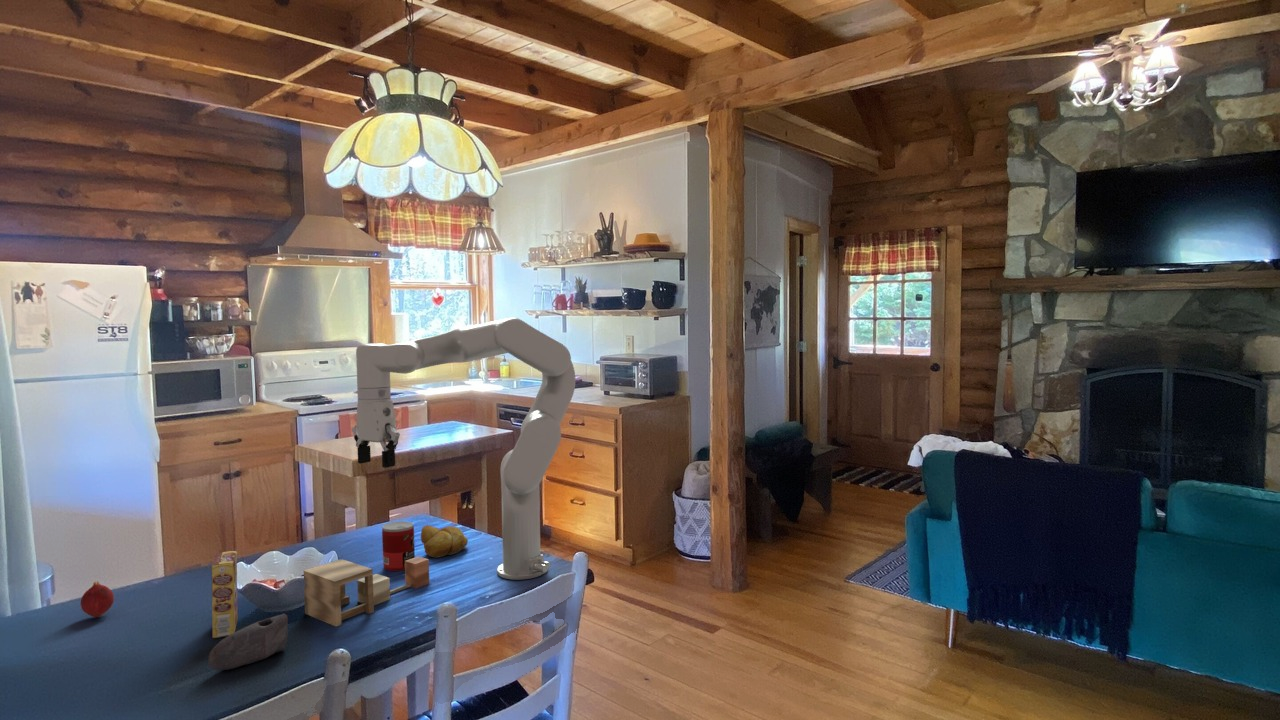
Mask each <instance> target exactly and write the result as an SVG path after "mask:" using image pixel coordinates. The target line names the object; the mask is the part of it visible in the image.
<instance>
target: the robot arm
mask: <svg viewBox="0 0 1280 720" xmlns="http://www.w3.org/2000/svg"><path fill="white" fill-rule="evenodd" d="M355 351H356V352H355V353H356V354H355V355H356V356H355V360H356V363H355V364H356V390H357V391H356V392H357V408H356V419H355V420H356V425H355V426H353V427H352V429H351V431H352V433H353V440H354V441H355V447H356V448H357V463H358V464H366V463H370V462H371V460H372V458H371V457H372V456H371V455H372V454H371V445H370V443H378V444H380V445H381V447H382V449H383V450H382V451H381V467H382V468H384V469H386V468H391V467H392V468H393V467H395V466H396V450H397V446H398V444H399V439H400V435H401V434H400V432H399V431H398V430H397V420H396V412H395V408H394V403H393V400H392V399H391V397H392V396H391V395H392V394H391V390H392V389H391V373H393V374H394V373H395V374H410V373H413V372H415V371H417V370H422V369H425V368H430V367H431V368H432V367H434V366H439V365H445V364H451V363H467V362H468V363H469V362H473V361H478V360H481V359H487V358H490V357H495V356H500V355H505V354H509V355H511V356H513V357H514V358H515V359H517V360H519V361H521V362H523V363H524V364H526V365H528V366H530V367H532V368H534V369H535V370H536V371H538V372H540V373H541V376H542V380H541V385H540V388H539V389H538V391H537V394H536V395H535V398H534V401H533V402H532V404H531V406H530V408H529V410H528V412H527V414H526V416H525V418H524V419H523V421H522V423H521V425H520V435H519V436H518V439H517V441H516V443H515V445H514V446H513V447H514V448H513V449H511V450H509V451H508V452H507V453H505V454H504V456H503V457H502V459H501V460H502V461H501V464H500V485H501V486H500V488H501V489H500V490H501V522H502V523H501V527H502V529H501V530H502V531H501V534H502V563H501V564H500V565H498V566H497V568H496V574H497V576H499V577H501V579H502V578H503V579H507V580H512V581H513V580H514V581H515V580H518V581H519V580H520V581H521V580H522V581H523V580H529V579H534V578H538V577H541V576H542V575H544V574H546V573H547V572H548V569H549V568H550V567H551V562H550V561H546V560H544V554H542V553H541V518H540V517H541V515H540V514H541V513H540V511H541V501H540V500H541V499H540V498H541V497H540V484H541V482H542V481H543V478H544V476H545V474H546V473H547V470H548V468H549V466H550V464H551V462H552V459H553V458H554V456H555V455H556V452H557V450H558V448H559V445H560V443H561V438H562V429H561V424H562V422H563V419H564V417H565V414H566V413H567V410H568V408H569V406H570V403H571V401H572V398H573V396H574V394H575V389H576V372H575V367H574V364H573V362H572V356H571V353H570V350H569V349H568V348H567V347H566V346H565V345H564V344H563V343H561V342H560V341H557V340H555V338H552V337H551V336H549V335H547V334H545V333H544V332H542V331H540V330H538V329H536V328H534V327H533V326H532V325H530V324H528V323H527V322H525V321H524V320H522V319H520V318H517V317H509V318H503V319H499V320H493V321H489V322H488V321H487V322H484V323H480V324H473V325H470V326H469V325H468V326H465V327H460V328H457V329H453V330H451V331H448V332H446V333H445V332H444V333H443V334H437V335H433V336H427V337H422V338H418V339H414V340H409V341H403V342H399V343H398V342H397V343H393V344H385V343H361V344H359V345H357V347H356V350H355Z"/></svg>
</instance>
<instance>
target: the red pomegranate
mask: <svg viewBox="0 0 1280 720" xmlns="http://www.w3.org/2000/svg"><path fill="white" fill-rule="evenodd" d="M92 584H93V585H92V586H91V587H90V588H89V589H87V590H86V591H85V592H84V593H83V595H82V597H81V599H80V607H81V610H82V611H83V612H84V614H87V615H89V616H90V617H94V618H96V617H98V618H100V617H102V616H103V615H104V614H106V613H107V612H108V611H109V610H110V608H112V606H113V604H114V601H115V595H114V593H113V591H112V590H111V588H110V587H108V586H106V585H103V584H101V583H100V582H99V581H97V580H95V581H94V582H93V583H92ZM101 615H102V616H101ZM99 616H100V617H99Z"/></svg>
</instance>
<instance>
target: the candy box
mask: <svg viewBox="0 0 1280 720" xmlns="http://www.w3.org/2000/svg"><path fill="white" fill-rule="evenodd" d="M237 555H238V553H237V550H229V551H223V552H216V553H215V554H214V558H213V561H212V564H211V611H212V614H211V617H212V619H211V621H212V639H217V638H222V637H223V638H225V637H228V636H229V635H231V634H233V633H235V632H236V629H237V628H236V627H237V623H238V618H239V617H238V616H239V615H238V614H239V611H238V609H239V608H238V602H239V601H238V564H237V563H238V558H237Z"/></svg>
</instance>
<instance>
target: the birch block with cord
mask: <svg viewBox="0 0 1280 720" xmlns="http://www.w3.org/2000/svg"><path fill="white" fill-rule="evenodd" d="M429 560H430V559H428V558H425V557H421V556H419V555H418V556H415V558H412V559H409V560H406V561H405V570H404V580H405V581H404V582H405V583H404V584H405V585H401V586H398V587H396V588H393V589H390V586H391V585H390V584H391V583H390V581H391V580H390V577H387V576H385V575H381V574H379V573H375V574H373V600H374V606H375V605H378V604H381V603H384V602H387V601H390V600H391V594H394V593H397V592H399V591H402V590H406V589H407V588H413V589H418V588H421V587H423V586H427V585H429V584H430V561H429ZM356 581H357V582H356V583H357V602H358V603H361V604H364V603H365V577H363V578H360V579H357V580H356Z"/></svg>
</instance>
